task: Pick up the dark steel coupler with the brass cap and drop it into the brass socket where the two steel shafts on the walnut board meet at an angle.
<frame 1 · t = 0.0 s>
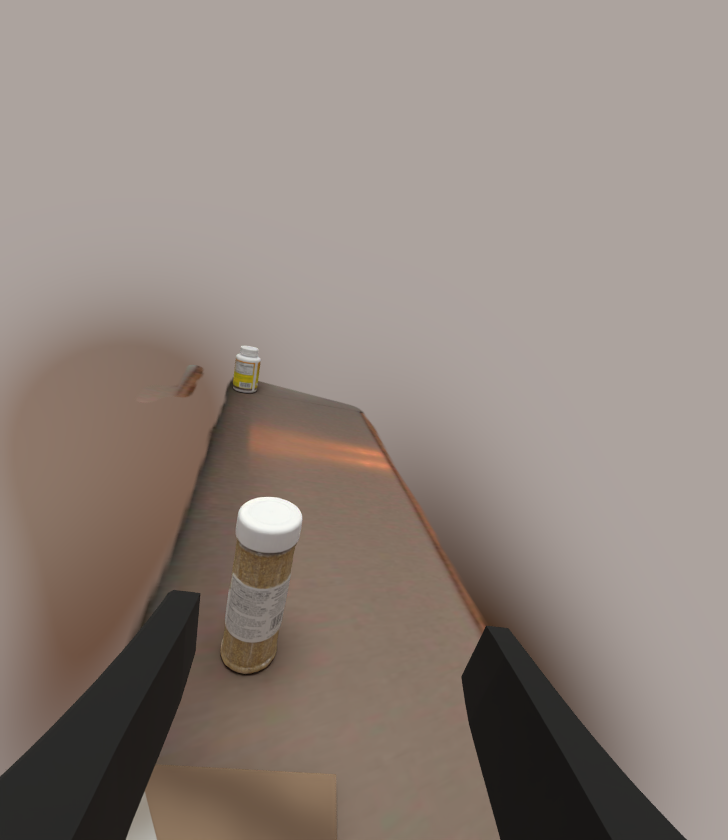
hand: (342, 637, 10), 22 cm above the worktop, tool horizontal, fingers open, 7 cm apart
spice jar: (248, 653, 34), on the worktop
supplement bottle: (244, 390, 97), on the worktop
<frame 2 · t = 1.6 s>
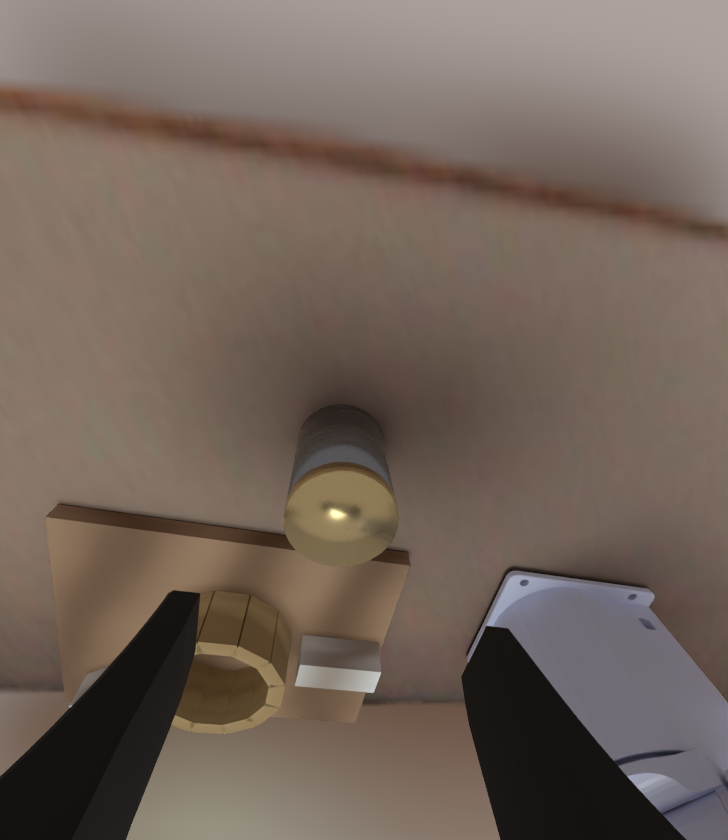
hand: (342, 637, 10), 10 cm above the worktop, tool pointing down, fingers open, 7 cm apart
coupler: (340, 443, 20), on the worktop
shaft board: (231, 622, 24), on the worktop
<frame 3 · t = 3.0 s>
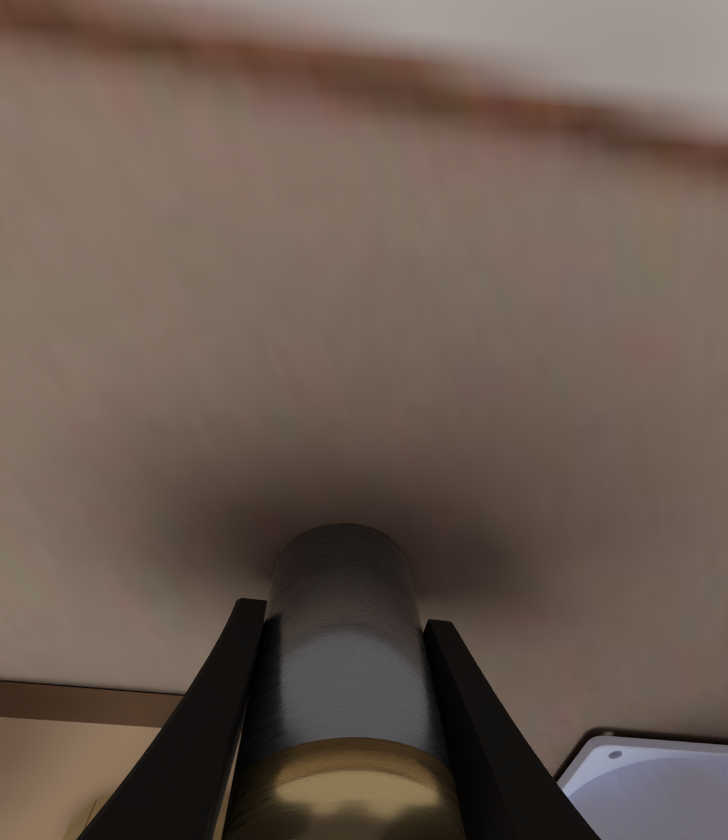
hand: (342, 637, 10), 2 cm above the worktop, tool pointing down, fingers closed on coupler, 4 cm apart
coupler: (341, 578, 12), on the worktop, touching gripper
shaft board: (180, 804, 17), on the worktop
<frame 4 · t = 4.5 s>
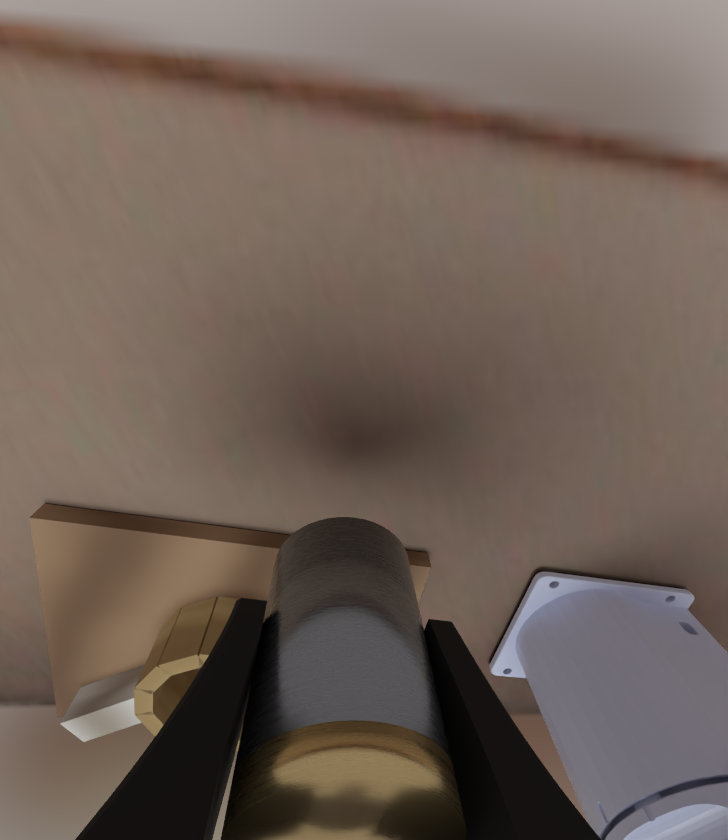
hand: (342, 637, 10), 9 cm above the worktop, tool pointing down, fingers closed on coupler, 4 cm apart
coupler: (342, 571, 12), point 7 cm above the worktop, touching gripper
shaft board: (235, 630, 22), on the worktop
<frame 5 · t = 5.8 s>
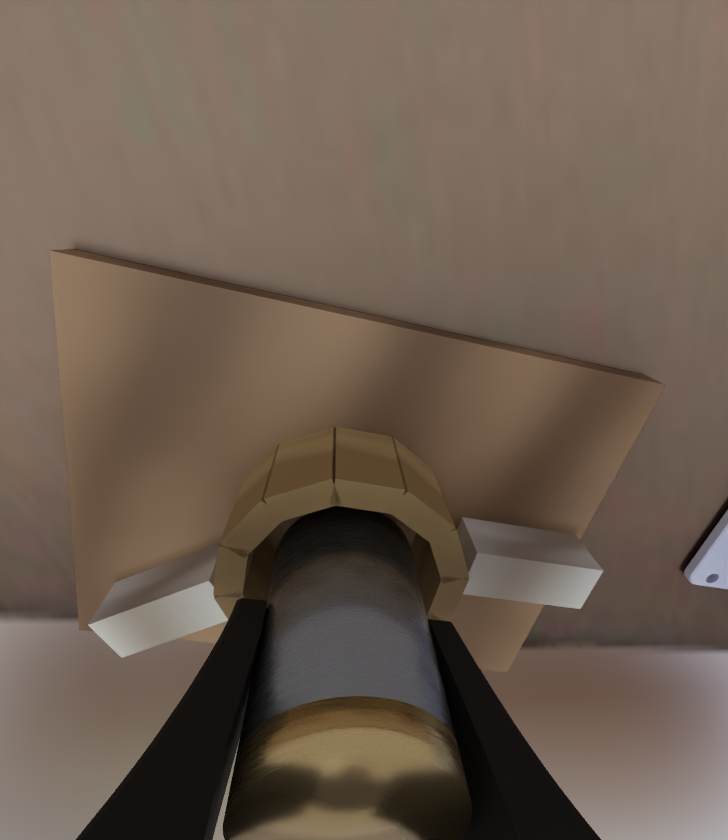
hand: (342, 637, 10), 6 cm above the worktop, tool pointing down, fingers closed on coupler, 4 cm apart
coupler: (344, 561, 12), point 3 cm above the worktop, touching gripper
shaft board: (341, 503, 15), on the worktop
when the fingers open (5 cm above the worktop, at t = 6.3 s): coupler drops 2 cm, resting on shaft board.
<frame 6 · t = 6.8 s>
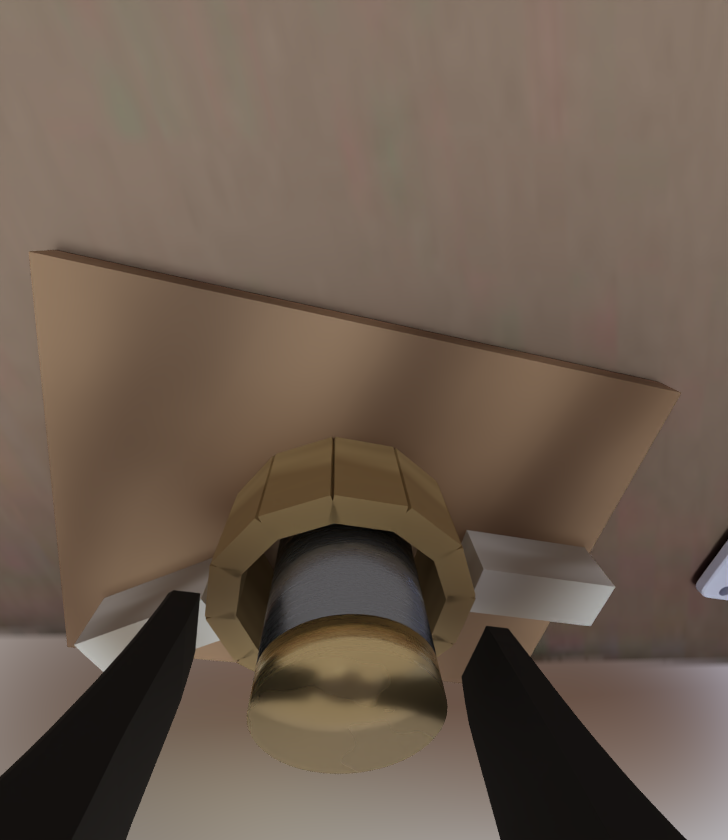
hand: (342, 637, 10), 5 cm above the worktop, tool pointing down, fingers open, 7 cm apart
coupler: (344, 524, 14), point 1 cm above the worktop, touching shaft board
shaft board: (341, 514, 15), on the worktop
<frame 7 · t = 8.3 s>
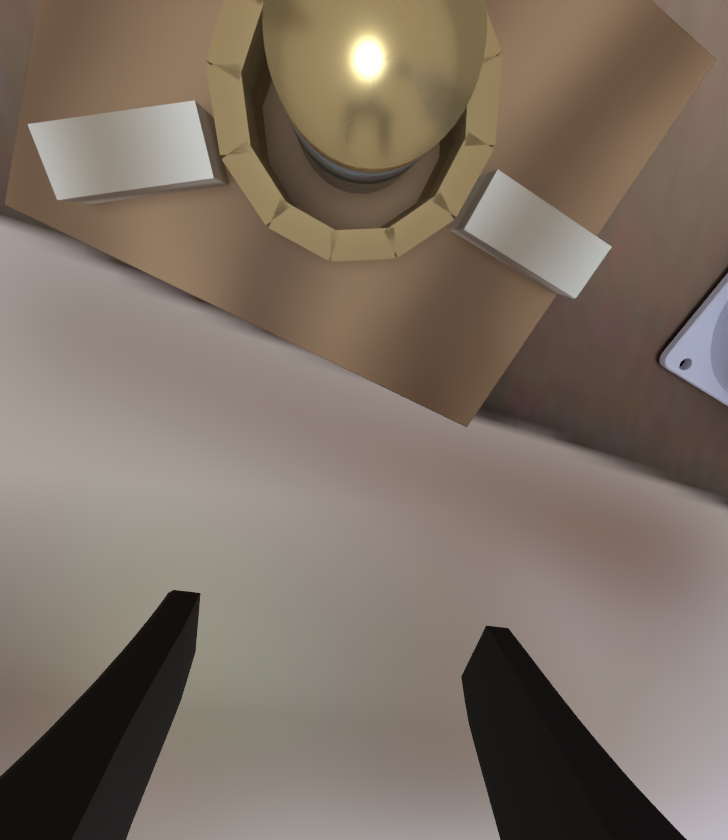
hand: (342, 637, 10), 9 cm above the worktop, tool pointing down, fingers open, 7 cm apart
coupler: (360, 120, 13), point 1 cm above the worktop, touching shaft board
shaft board: (352, 139, 14), on the worktop
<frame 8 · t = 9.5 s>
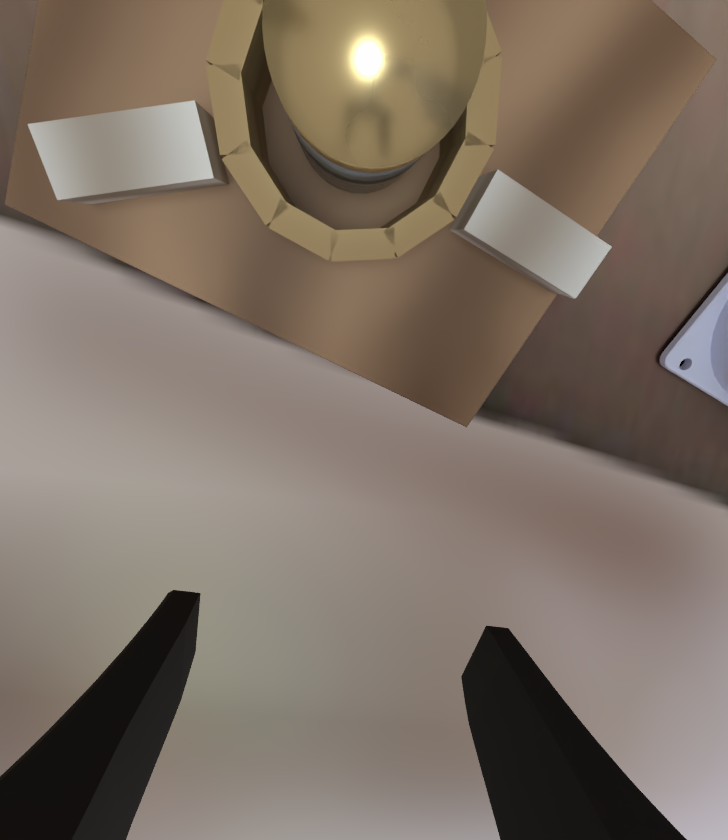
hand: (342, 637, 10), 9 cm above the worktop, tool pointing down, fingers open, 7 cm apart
coupler: (360, 120, 13), point 1 cm above the worktop, touching shaft board
shaft board: (352, 139, 14), on the worktop
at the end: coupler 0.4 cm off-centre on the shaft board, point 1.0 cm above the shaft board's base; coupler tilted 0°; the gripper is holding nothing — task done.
